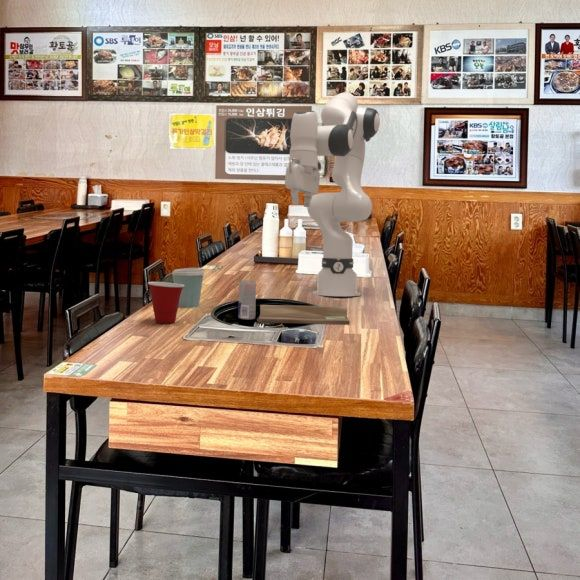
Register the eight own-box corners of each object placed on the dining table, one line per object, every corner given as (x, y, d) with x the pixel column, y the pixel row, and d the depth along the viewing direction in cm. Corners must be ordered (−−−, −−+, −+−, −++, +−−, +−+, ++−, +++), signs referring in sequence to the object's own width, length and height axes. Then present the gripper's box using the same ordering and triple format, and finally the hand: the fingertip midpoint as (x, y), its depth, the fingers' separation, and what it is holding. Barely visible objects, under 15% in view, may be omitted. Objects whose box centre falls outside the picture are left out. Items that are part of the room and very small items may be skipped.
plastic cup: (187, 324, 194) (187, 283, 192) (149, 325, 190) (149, 284, 189) (181, 319, 204) (181, 280, 203) (146, 320, 201) (146, 280, 199)
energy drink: (246, 317, 212) (247, 280, 211) (258, 319, 208) (259, 281, 207) (234, 318, 208) (235, 281, 206) (247, 320, 204) (247, 282, 203)
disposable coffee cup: (180, 315, 214) (180, 269, 212) (166, 311, 222) (166, 267, 221) (209, 313, 220) (209, 268, 219) (194, 309, 229) (194, 266, 227)
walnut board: (260, 317, 213) (260, 304, 213) (346, 319, 213) (346, 306, 212) (258, 322, 201) (258, 309, 201) (349, 324, 201) (349, 311, 200)
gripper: (299, 156, 197) (298, 203, 198) (323, 166, 216) (321, 208, 217) (280, 157, 200) (278, 202, 200) (305, 166, 218) (303, 208, 219)
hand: (301, 205), depth 209 cm, fingers open, 8 cm apart
